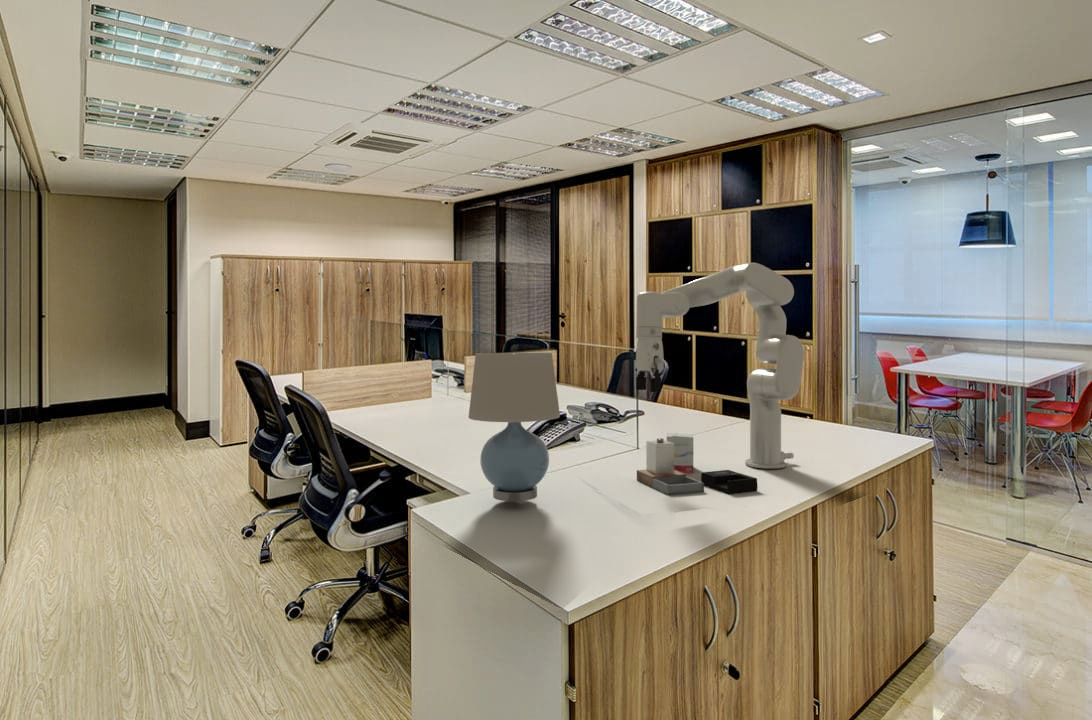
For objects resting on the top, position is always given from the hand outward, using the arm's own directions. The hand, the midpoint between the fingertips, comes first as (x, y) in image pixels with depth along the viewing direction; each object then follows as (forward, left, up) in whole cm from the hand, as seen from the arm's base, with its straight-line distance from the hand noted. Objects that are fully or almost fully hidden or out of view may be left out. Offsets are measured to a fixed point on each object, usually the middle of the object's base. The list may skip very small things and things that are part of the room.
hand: (648, 390), depth 183 cm
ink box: (-16, -9, -27) cm, 33 cm away
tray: (-2, +13, -27) cm, 30 cm away
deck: (-2, +3, -27) cm, 27 cm away
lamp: (+43, +6, -27) cm, 51 cm away
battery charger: (-17, +16, -28) cm, 36 cm away
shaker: (-2, +3, -24) cm, 24 cm away
